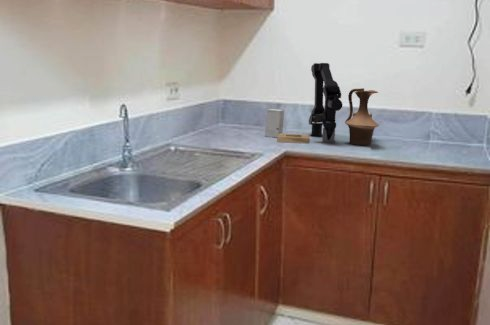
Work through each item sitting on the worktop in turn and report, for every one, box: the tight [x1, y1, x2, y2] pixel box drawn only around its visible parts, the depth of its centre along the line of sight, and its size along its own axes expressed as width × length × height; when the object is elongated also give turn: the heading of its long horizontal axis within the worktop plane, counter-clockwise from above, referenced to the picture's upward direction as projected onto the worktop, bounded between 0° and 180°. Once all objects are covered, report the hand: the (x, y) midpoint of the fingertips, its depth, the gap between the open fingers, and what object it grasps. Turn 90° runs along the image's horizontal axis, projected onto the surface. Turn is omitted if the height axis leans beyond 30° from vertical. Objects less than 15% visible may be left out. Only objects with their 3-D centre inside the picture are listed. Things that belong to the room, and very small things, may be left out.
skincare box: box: [264, 108, 285, 138], centre depth 273 cm, size 8×6×15 cm
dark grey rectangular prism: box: [322, 127, 336, 144], centre depth 258 cm, size 4×6×7 cm, turn 82°
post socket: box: [276, 132, 310, 144], centre depth 261 cm, size 14×16×2 cm
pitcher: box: [344, 87, 380, 146], centre depth 253 cm, size 18×17×28 cm
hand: (328, 139), depth 259 cm, fingers open, 4 cm apart
